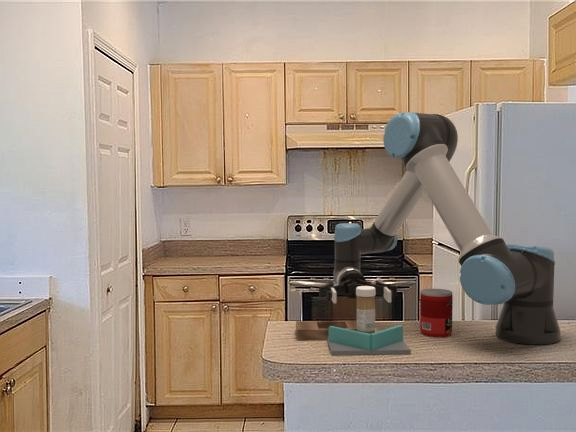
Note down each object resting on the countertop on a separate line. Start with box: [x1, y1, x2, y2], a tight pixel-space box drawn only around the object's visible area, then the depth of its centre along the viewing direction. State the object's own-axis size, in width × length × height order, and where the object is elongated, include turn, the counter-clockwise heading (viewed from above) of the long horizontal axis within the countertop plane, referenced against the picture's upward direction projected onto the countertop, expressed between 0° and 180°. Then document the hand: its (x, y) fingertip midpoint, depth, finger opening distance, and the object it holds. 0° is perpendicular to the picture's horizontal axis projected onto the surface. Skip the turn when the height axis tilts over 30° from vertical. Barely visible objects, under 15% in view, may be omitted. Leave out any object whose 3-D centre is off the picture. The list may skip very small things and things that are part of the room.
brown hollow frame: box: [295, 319, 357, 341], centre depth 168 cm, size 18×9×3 cm, turn 91°
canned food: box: [419, 288, 454, 338], centre depth 169 cm, size 8×8×11 cm
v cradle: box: [326, 324, 412, 356], centre depth 156 cm, size 18×12×4 cm, turn 91°
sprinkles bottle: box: [356, 286, 377, 334], centre depth 156 cm, size 5×5×14 cm
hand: (362, 297), depth 164 cm, fingers open, 13 cm apart
